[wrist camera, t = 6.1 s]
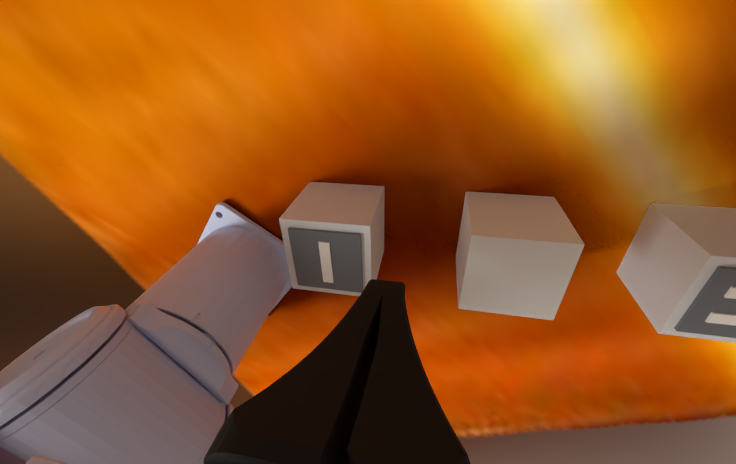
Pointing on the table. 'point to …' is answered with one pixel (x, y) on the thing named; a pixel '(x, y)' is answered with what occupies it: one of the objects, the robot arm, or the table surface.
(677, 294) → the marked block 2
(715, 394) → the table surface
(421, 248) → the table surface
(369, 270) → the marked block 1
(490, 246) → the plain block
